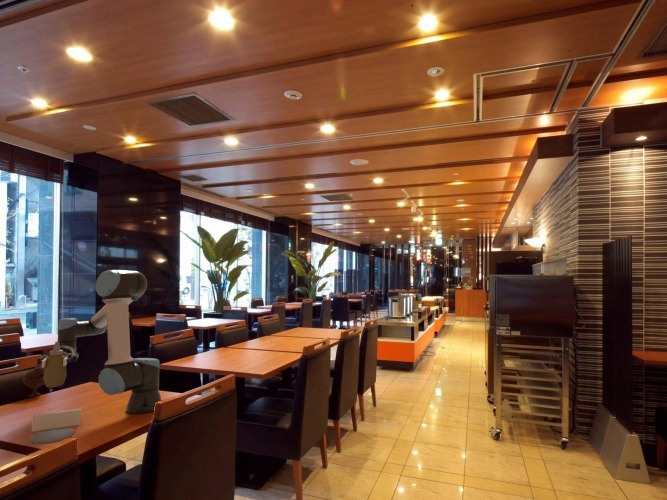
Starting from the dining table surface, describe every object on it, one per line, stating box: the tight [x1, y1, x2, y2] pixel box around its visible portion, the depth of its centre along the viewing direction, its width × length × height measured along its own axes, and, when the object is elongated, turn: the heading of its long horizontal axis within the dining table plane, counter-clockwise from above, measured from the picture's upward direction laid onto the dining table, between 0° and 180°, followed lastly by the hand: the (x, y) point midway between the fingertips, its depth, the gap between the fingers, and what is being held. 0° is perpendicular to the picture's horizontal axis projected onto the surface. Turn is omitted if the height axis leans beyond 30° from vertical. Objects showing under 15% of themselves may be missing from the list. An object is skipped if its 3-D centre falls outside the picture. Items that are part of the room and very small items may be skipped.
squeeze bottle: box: [43, 341, 68, 388], centre depth 165 cm, size 8×8×18 cm
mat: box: [29, 427, 75, 445], centre depth 152 cm, size 14×14×1 cm
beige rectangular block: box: [31, 408, 82, 432], centre depth 162 cm, size 16×2×6 cm, turn 118°
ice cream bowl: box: [22, 365, 45, 398], centre depth 208 cm, size 11×11×15 cm
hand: (53, 363), depth 161 cm, fingers closed on squeeze bottle, 6 cm apart
